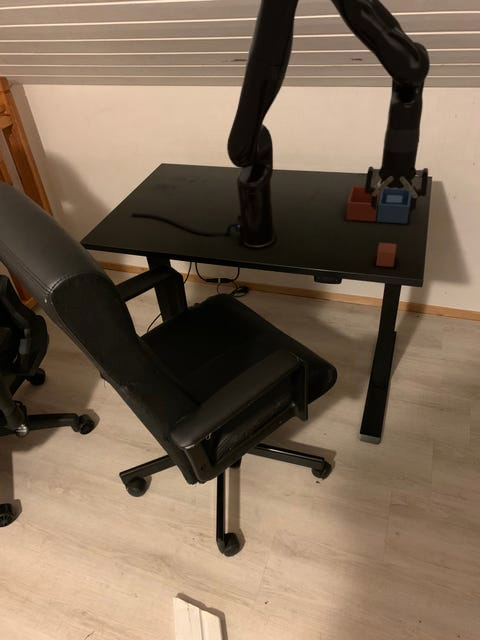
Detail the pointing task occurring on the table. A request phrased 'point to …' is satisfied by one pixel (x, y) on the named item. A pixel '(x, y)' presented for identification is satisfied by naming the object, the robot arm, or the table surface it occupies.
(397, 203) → the blue block
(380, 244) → the terracotta block
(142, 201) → the table surface
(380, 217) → the blue bin
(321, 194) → the table surface
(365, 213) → the terracotta bin
